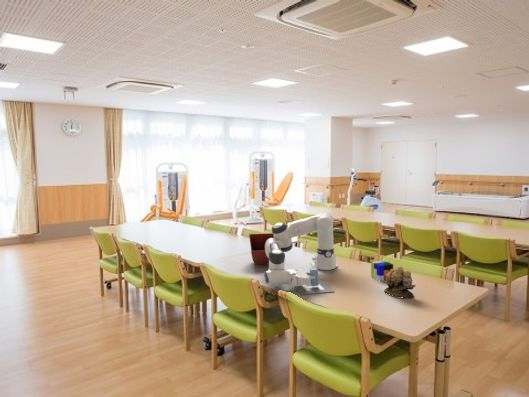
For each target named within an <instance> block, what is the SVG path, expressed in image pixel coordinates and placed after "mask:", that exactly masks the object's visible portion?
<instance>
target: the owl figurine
mask: <svg viewBox="0 0 529 397" xmlns="http://www.w3.org/2000/svg"><path fill="white" fill-rule="evenodd" d="M385 283H386V284H387V287H386V288H385V289H384V290H383V292H384V294H386V293H387V294H390V295H393V296H397V297H403V298H402V299H406V298H408V299H412V298H413V297H414V296H415V295H414V294H413V292H412V291H410V290H414V288H415V287H416V286H417V285H416V284H413V278H412V272H411V271H410V270H407V269H406V270H404V267H403V266H401V265H398V266H396V267H395V268H393V269H391V270H390V272H389V273H388V274H386V280H385ZM387 294H386V295H387ZM390 295H389V296H390ZM393 296H392V297H393ZM397 297H396V298H397ZM411 297H412V298H411Z"/></svg>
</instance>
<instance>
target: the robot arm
mask: <svg viewBox="0 0 529 397" xmlns="http://www.w3.org/2000/svg"><path fill="white" fill-rule="evenodd" d="M334 219H335V218H334V216H333V215H332V214H331V213H329V212H322V213H319V214H316V215H313V216H310V217H306V218H302V219H298V220H294V221H290V222H289V223H284V222H276V223H274V224H273V225H272V227H271V231H272V232H271V233H273V235H274V238H269V239H268V240H267V241H266V243H265V253H266V256H267V257H268V258H269V264H268V269H267V271H264V281H265V283H266V284H267V285H272V286H273V285H274V286H277V285H279V286H280V285H291V286H293V287H294V286H297V285H306V284H310V282H311V279H315V275H312V276H310V271H305V269H304V268H289V269H285V263H286V262H285V261H286V253H287V252H289V251H291V250H292V249H293V246H294V245H293V244H294V243H293V241H292V237H299V236H305V235H308V234H312V233H314V232H317V233H316V234H317V248H316V253H315V254H314V256H313V257H312V258H311V260H312V261H310V265H311V268H317V269H318V270H322V271H323V270H324V271H329V270H330V271H331V270H333V269H336V268H337V267H339V265H338V264H337V258H336V254H335V248H334V223H335V222H334V221H335V220H334Z"/></svg>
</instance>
